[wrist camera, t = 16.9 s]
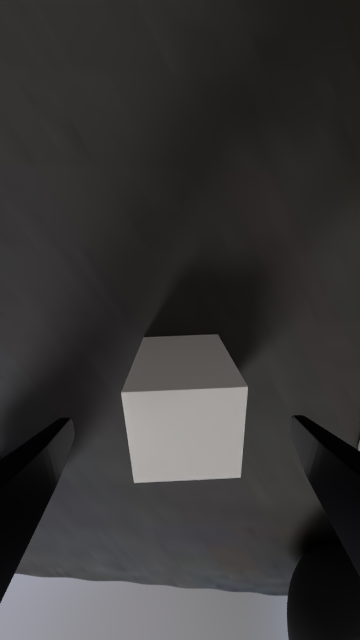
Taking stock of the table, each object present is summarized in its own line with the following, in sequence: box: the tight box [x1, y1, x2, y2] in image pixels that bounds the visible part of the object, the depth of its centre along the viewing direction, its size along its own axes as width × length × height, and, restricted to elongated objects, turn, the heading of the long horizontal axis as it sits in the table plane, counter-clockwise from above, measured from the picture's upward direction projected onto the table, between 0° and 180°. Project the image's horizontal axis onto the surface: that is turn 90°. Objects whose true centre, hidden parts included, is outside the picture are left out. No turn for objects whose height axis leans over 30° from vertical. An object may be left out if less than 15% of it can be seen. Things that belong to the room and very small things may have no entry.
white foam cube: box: [121, 334, 248, 483], centre depth 17 cm, size 8×8×9 cm
